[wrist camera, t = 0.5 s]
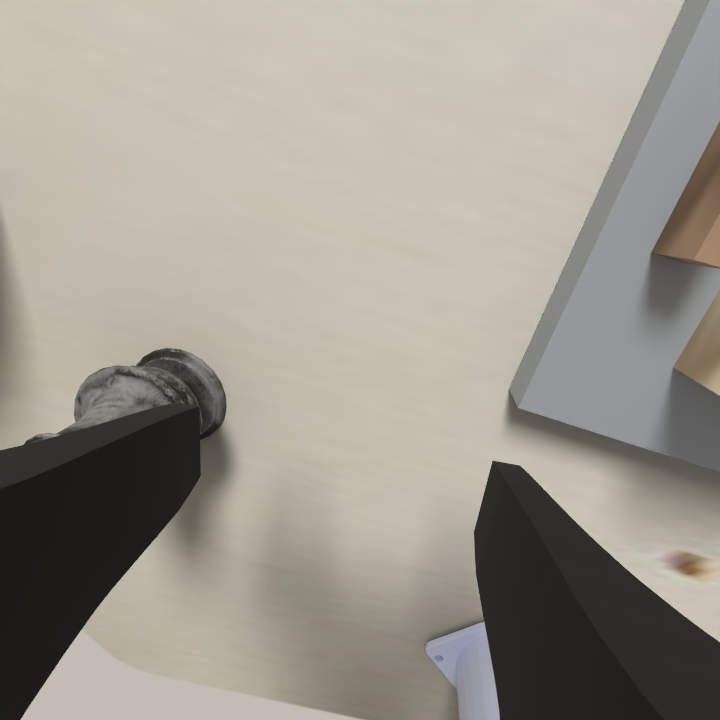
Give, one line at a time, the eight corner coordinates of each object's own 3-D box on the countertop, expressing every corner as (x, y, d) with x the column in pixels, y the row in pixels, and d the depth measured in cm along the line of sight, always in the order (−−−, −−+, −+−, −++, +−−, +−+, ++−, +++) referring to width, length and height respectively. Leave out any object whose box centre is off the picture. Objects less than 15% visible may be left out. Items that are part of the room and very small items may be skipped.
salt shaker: (179, 320, 20) (-125, 446, 9) (253, 412, 21) (63, 626, 10) (106, 380, 22) (-222, 545, 11) (178, 462, 23) (-54, 690, 12)
